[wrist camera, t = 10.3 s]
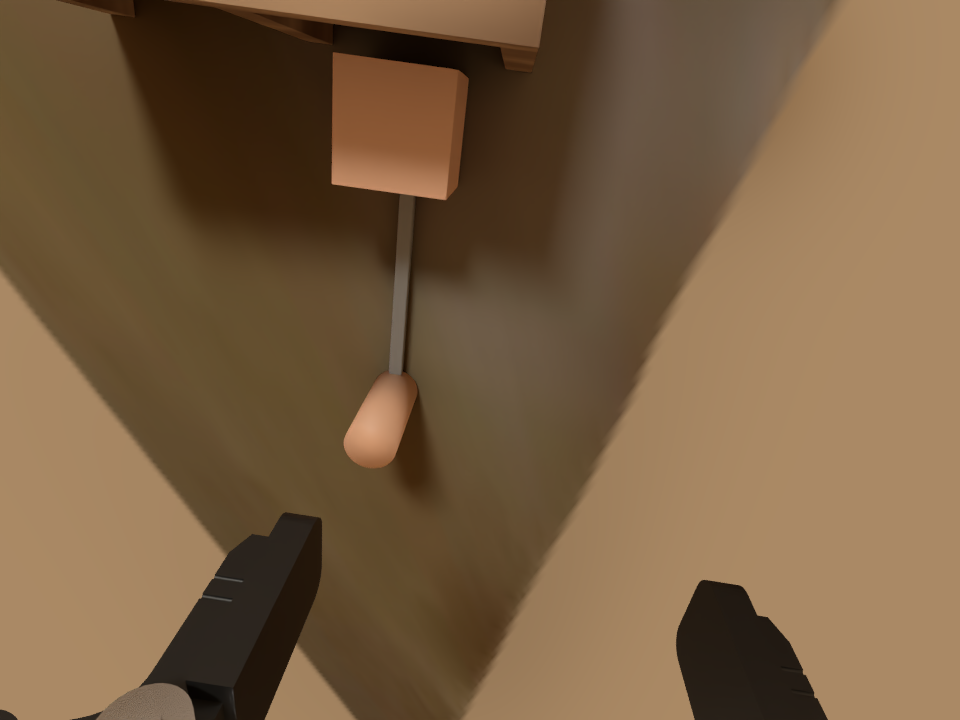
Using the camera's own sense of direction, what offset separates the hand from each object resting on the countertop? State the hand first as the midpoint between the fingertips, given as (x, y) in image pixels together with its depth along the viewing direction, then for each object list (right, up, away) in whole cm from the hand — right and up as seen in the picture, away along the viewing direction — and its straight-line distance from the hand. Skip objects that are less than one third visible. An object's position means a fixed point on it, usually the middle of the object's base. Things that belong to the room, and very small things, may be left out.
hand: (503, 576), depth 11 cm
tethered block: (-4, +10, +17) cm, 20 cm away
